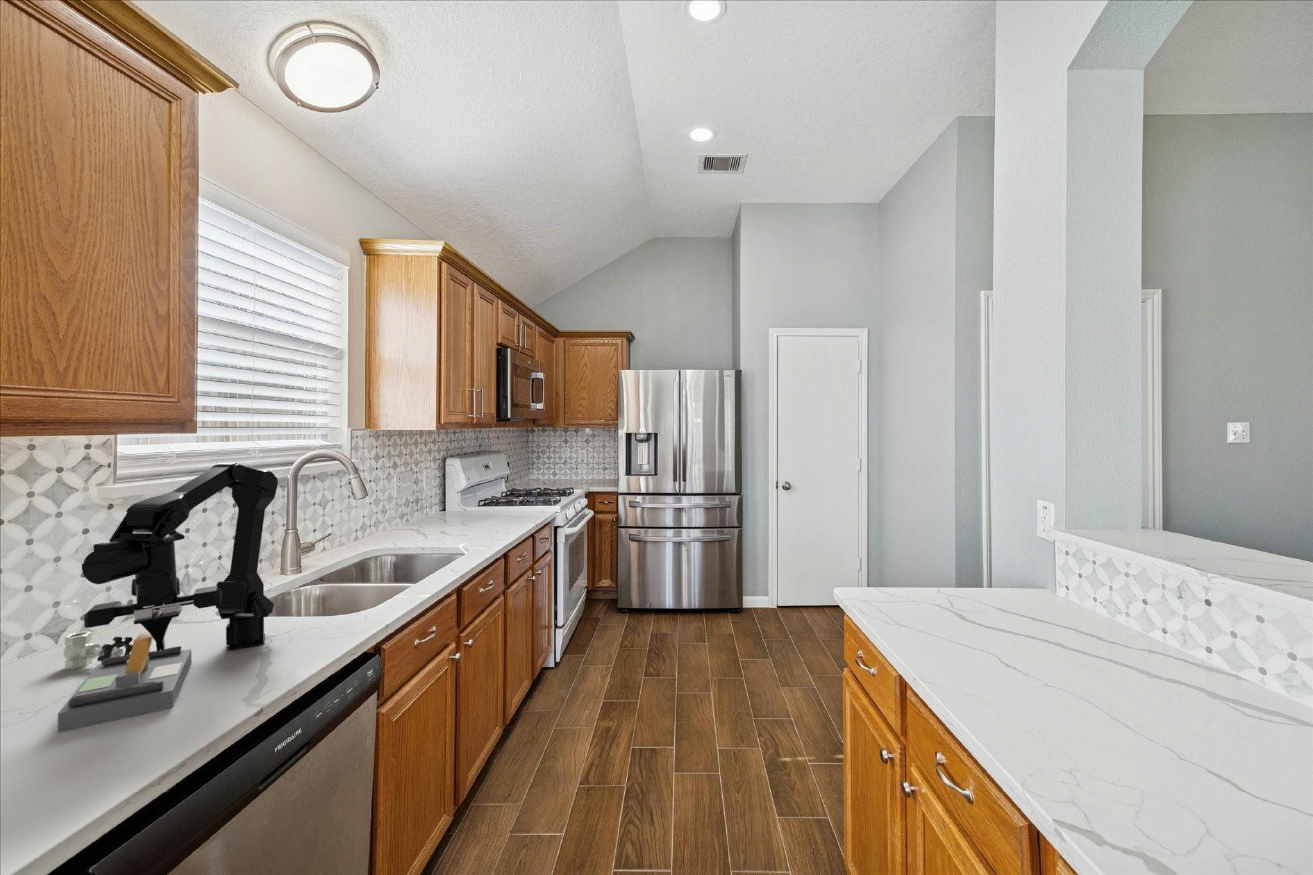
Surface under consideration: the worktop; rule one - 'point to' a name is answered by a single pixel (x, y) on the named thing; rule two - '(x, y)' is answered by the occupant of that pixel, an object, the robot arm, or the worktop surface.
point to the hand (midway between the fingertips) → (160, 650)
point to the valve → (91, 649)
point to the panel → (127, 689)
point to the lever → (139, 652)
